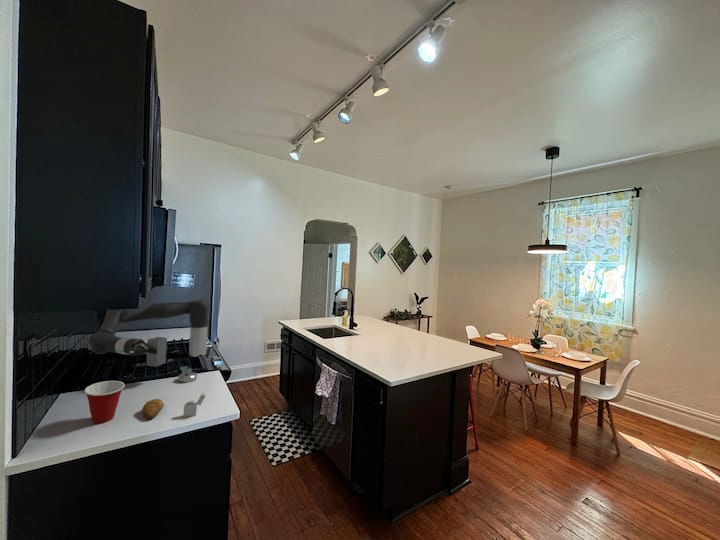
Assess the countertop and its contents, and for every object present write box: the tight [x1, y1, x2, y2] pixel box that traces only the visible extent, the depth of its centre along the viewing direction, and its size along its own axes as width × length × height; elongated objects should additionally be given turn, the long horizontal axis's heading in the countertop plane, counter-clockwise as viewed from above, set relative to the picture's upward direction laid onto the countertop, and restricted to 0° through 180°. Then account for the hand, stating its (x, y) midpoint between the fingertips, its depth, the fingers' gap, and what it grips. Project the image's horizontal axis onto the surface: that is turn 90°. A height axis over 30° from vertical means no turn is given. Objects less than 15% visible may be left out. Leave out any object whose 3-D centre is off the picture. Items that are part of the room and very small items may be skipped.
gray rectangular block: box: [146, 336, 168, 368], centre depth 136 cm, size 5×5×12 cm
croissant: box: [142, 398, 165, 420], centre depth 111 cm, size 14×7×5 cm, turn 26°
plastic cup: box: [84, 380, 126, 425], centre depth 104 cm, size 11×11×12 cm
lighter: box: [182, 392, 207, 418], centre depth 111 cm, size 7×2×8 cm, turn 114°
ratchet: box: [178, 365, 198, 384], centre depth 146 cm, size 19×8×5 cm, turn 37°
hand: (161, 349), depth 135 cm, fingers closed on gray rectangular block, 5 cm apart
